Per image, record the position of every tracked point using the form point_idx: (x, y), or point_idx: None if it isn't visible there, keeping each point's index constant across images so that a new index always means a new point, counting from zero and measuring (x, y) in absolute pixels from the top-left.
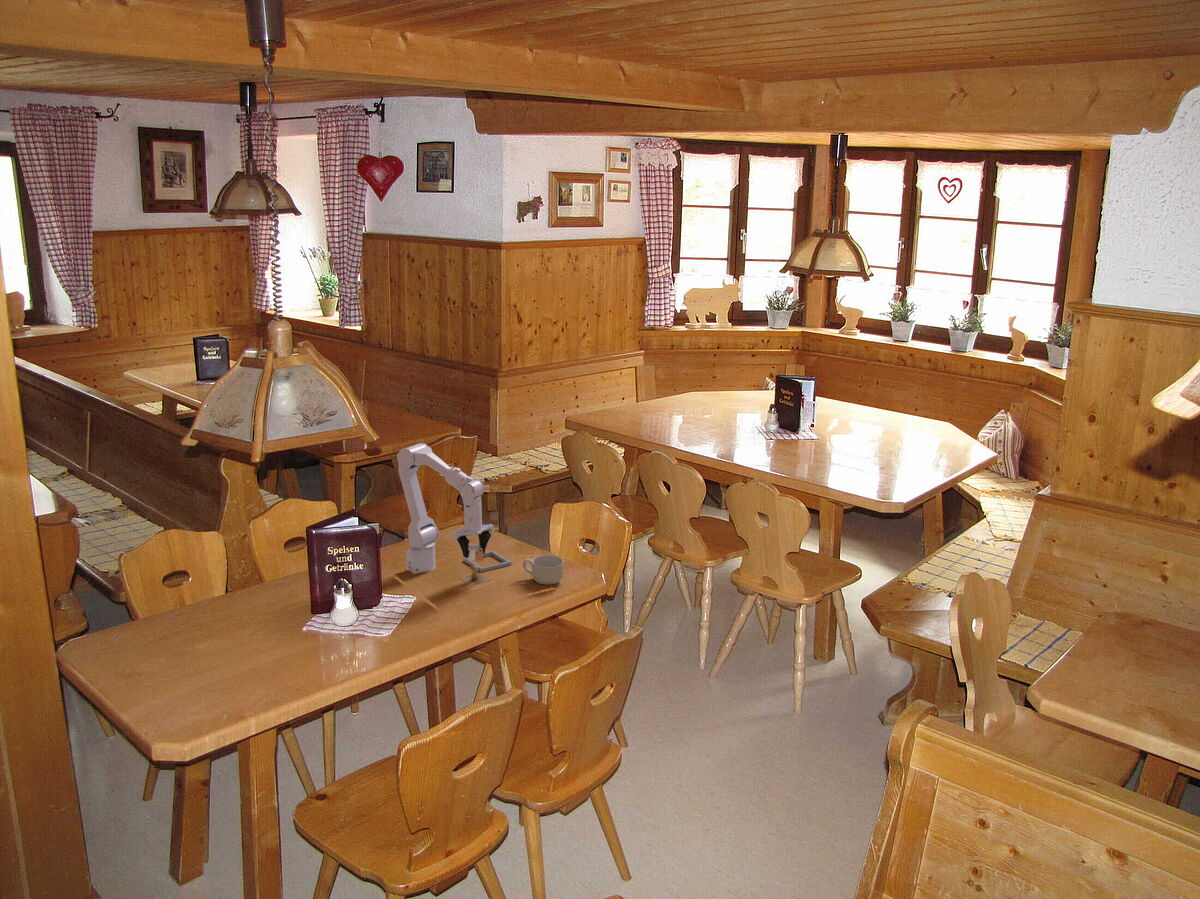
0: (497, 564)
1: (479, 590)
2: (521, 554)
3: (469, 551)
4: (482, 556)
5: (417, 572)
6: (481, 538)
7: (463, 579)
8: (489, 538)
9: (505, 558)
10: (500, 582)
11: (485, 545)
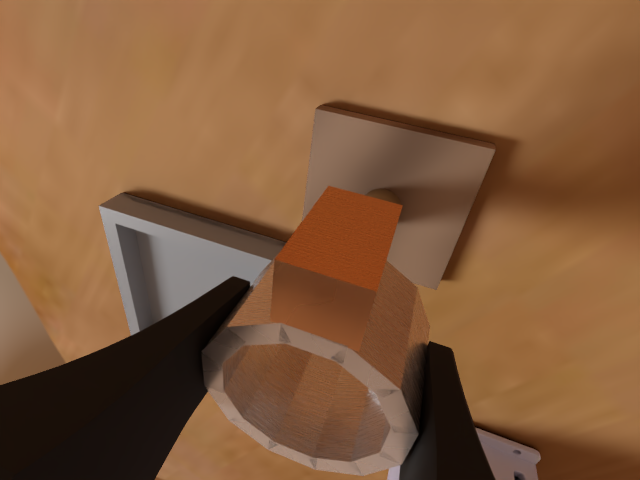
0: (173, 235)
1: (482, 51)
2: (49, 253)
3: (410, 394)
4: (318, 216)
5: (517, 463)
6: (129, 462)
7: (429, 258)
8: (12, 383)
9: (113, 254)
10: (268, 62)
11: (161, 333)
